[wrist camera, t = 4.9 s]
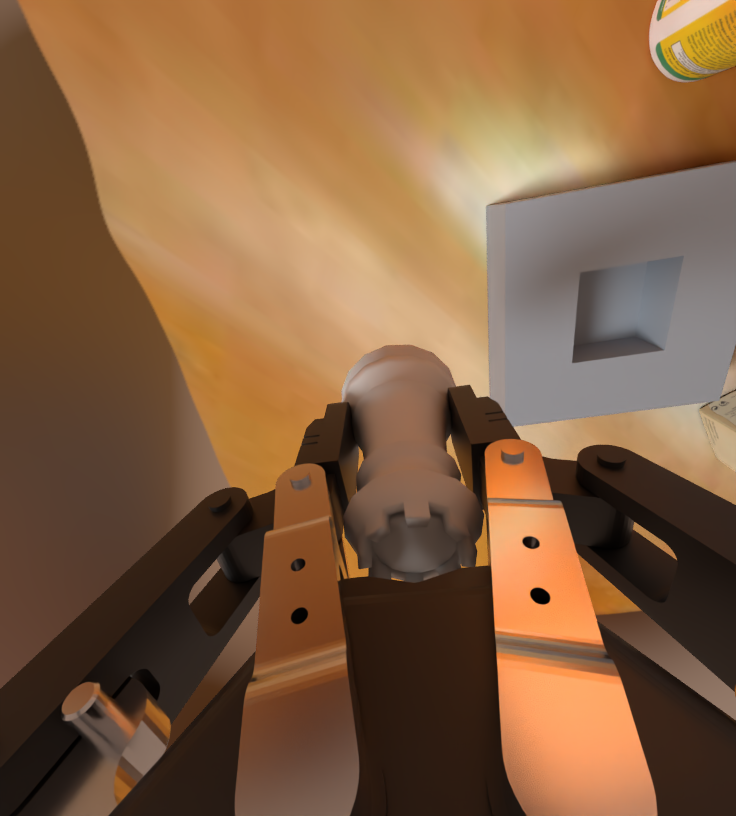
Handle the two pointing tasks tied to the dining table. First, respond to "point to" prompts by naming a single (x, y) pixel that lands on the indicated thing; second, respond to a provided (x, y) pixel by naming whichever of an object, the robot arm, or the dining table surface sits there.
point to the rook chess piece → (407, 469)
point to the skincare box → (722, 428)
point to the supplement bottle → (693, 38)
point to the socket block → (613, 296)
